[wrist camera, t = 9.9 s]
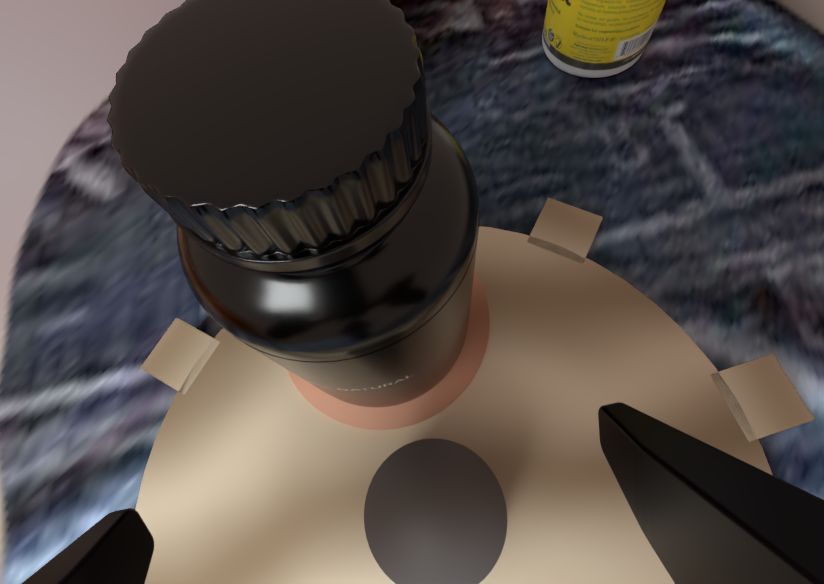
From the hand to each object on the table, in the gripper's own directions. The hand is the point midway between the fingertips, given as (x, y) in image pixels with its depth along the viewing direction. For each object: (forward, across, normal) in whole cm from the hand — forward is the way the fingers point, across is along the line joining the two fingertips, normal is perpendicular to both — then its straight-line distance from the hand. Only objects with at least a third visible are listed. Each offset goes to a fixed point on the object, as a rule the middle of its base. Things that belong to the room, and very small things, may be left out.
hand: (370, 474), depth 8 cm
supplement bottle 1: (+10, 0, +1) cm, 10 cm away
